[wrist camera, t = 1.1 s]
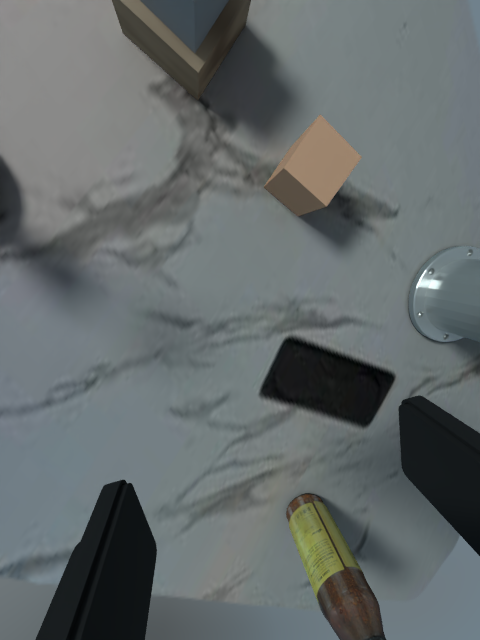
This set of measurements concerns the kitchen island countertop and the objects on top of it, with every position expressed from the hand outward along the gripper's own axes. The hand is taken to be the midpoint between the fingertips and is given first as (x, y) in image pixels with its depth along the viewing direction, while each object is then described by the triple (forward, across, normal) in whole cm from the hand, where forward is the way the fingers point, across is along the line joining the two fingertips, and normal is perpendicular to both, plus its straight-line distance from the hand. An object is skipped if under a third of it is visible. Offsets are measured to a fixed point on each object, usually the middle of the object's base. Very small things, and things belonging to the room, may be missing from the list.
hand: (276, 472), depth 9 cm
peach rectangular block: (+24, -11, -12) cm, 29 cm away
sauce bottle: (+24, -6, +33) cm, 41 cm away
